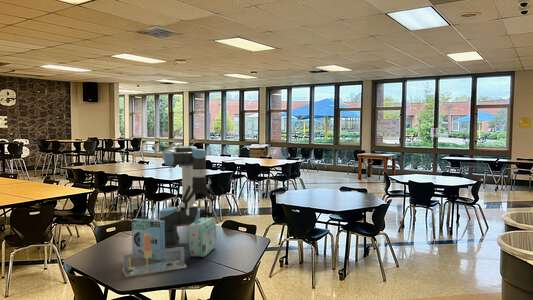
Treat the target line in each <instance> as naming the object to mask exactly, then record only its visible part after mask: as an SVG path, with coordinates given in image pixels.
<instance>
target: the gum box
mask: <svg viewBox="0 0 533 300" xmlns="http://www.w3.org/2000/svg"><path fill="white" fill-rule="evenodd" d="M144 234H150V246H151V250H152V251H154V250H161V249H166V245H165V229H164V220H160V219H153V218H152V219H150V218H137V217H135V218H133V219H131V241H132V243H131V248H132V252H131V253H139V252H143V250H142V249H144ZM133 258H135V259H144V260H146V258H144V256H138V257H132V259H133ZM165 259H166V253H160V254H153V255H152V257H150V258H148V260H151V261H152V260H153V261H162V260H165Z"/></svg>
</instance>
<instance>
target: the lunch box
mask: <svg viewBox="0 0 533 300" xmlns="http://www.w3.org/2000/svg"><path fill="white" fill-rule="evenodd" d="M187 237H188V238H187V239H188V250H189V251H188V252H189V256H190V257H202V258H204V257H207V255H209V254H210V253H211V252H212V251H214V249H215V248H216V246H217V224H216V219H215V217H208V218H207V217H206V218H205V217H201V218H199V220H197V221H195V222H193V223H192V224H191V225H190V226H188V228H187Z"/></svg>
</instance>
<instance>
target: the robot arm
mask: <svg viewBox="0 0 533 300" xmlns="http://www.w3.org/2000/svg"><path fill="white" fill-rule="evenodd" d="M206 152H207V151H206V149H203V148H197V147H196V146H193V145H188V146H187V145H182V146H177V145H174V146H170V147H167V148H165V149H164V150H163V151H162V152H161V158H162V160H163V163H164V165H165V166H179V167H180V168H181V172H182V173H181V177H182V178H181V183H182V184H181V186H182V189H181V190H182V196H181V198H182V199H181V200H180V202H181V203H182V204H180V207H179V208H178V207H177V206H168V207H164V208H162V209H160V211H159V215H158V218H159V220H164V229H165V246H173V245H177V244H179V243H180V242H181V238H180V235H179V232H178V227H186V226H187V227H189V226H190V225H191V224H192V223H193V222H195V221H197V220H199V219H201V218H200V215H201V209H200V207H198V205H197V203H196V194H202V193H204V195H205V196H206V198H207V199H209V200H208V213H211V214H212V213H213V207H214V202H215V201H217V197H216V195H215V192H214V191H213V188H212V184H210V183H208V184H207V181H206V180H207V178H206V176H207V174H206V173H207V170H206V167H207V165H206V162H207V160H206V159H207V153H206ZM206 189H208V191H209V192H207V190H206ZM209 193H210V194H209Z"/></svg>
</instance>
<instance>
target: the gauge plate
mask: <svg viewBox="0 0 533 300" xmlns="http://www.w3.org/2000/svg"><path fill="white" fill-rule="evenodd" d="M187 266H188V265H187V264H186V263H185V262H184V263H182V264H181V263H180V259H177V260H172V261H171V260H169V261H164V262H157V263H151V264H149V263H148V268H146V264H145V265H144V264H143V265H137V266H131V271H129V267H128V272H124V269H123V268H122V269H121V271H122V273H123V275H124V277H125V278H130V277H134V276H136V275H137V276H142V275H149V274H154V273H155V274H156V273H161V272H167V271H173V270H179V269H186V268H187ZM129 276H130V277H129Z"/></svg>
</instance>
